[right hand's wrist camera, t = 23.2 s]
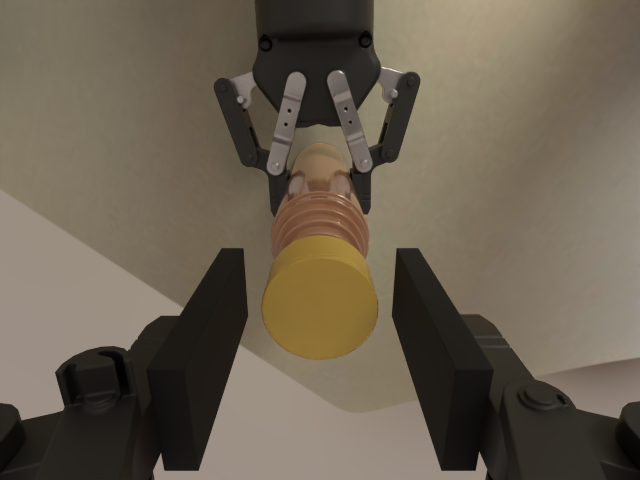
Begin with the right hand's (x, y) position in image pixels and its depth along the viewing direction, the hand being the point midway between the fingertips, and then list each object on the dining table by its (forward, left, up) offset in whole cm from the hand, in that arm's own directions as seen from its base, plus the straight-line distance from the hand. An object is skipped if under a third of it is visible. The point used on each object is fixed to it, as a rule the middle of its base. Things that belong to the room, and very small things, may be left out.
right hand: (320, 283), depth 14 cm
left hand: (+2, -1, -16) cm, 16 cm away
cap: (0, 0, +2) cm, 2 cm away
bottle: (0, 0, -23) cm, 23 cm away
